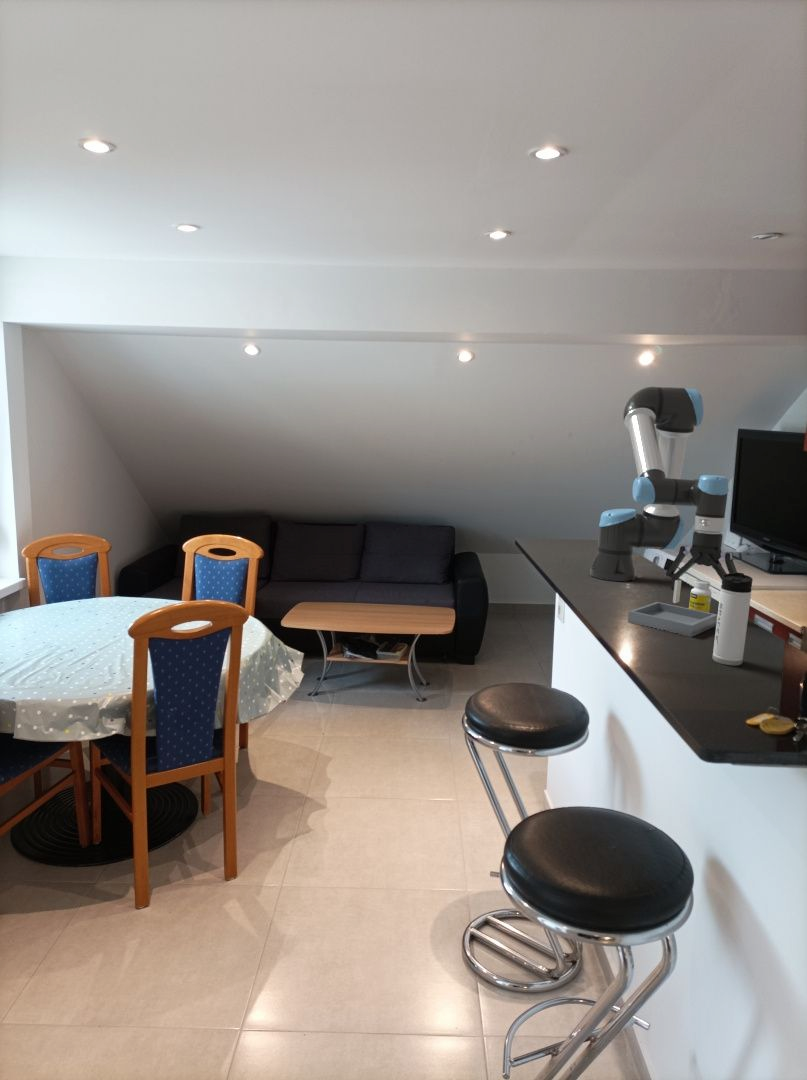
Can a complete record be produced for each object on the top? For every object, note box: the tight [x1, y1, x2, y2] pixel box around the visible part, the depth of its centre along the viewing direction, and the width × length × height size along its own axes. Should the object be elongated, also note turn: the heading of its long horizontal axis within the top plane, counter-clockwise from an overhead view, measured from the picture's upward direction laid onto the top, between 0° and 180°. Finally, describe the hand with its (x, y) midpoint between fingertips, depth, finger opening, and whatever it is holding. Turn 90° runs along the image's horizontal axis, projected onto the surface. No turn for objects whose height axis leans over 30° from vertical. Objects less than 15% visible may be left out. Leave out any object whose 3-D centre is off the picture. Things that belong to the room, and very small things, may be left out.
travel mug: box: [712, 571, 753, 667], centre depth 168 cm, size 6×7×20 cm
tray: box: [627, 601, 718, 638], centre depth 199 cm, size 17×17×3 cm
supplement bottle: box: [688, 579, 713, 613], centre depth 209 cm, size 5×5×10 cm
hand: (699, 607), depth 209 cm, fingers open, 13 cm apart
